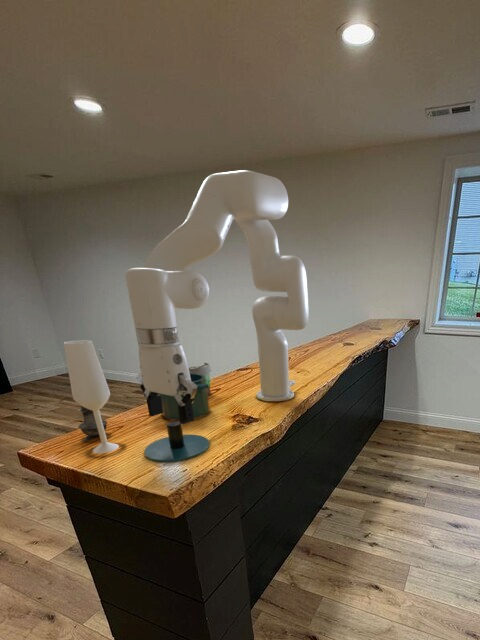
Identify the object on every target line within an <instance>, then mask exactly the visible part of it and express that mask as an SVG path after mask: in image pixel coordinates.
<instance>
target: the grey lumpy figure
mask: <svg viewBox="0 0 480 640" xmlns="http://www.w3.org/2000/svg"><path fill="white" fill-rule="evenodd" d="M80 408H81V409H80V410H79V412H81V413H82V416H83V423H80V424H79V425H78V429H80V431H81V432H82V433H83V434H84V435H85V437H84V438H83V441H84V442H89V441H91V440H94V439H98V438H100V436H99V432H98V428H97V424H96V421H95V417H94V413H93V411H92V410H89V409H87V408H85V407H83V406H81V405H80ZM102 423H103V426H104V430H105V431H106V430H107V427H108V425H107V424H108V421H107V420H105V419H102ZM105 434H106V435H108V433H107V432H105Z"/></svg>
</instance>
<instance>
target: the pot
mask: <svg viewBox="0 0 480 640" xmlns="http://www.w3.org/2000/svg"><path fill="white" fill-rule="evenodd" d="M190 377H191V381H192V382H193V383H195V384H196V385H197V391H196V397H195V399H194V402H193V403H192V408H193V415H194V419H196V418H200V417H202V416H203V417H204V416H205V415H207V414H209V412H210V405H209V395H208V396H207V388H208V384H206V380H205V376H203V375H201V374H194V373H190ZM177 391H179V390H177ZM159 395H160V396H161V400H162V406H163V413H161V414H162V416H163V417H164V418H165V419H168V420H174V421H180V420H179V414H178V406H179V403H178V402H177V400H176V399H175V397H174V396H170V395H165V394H160V393H159V394H158V396H159ZM180 396H181V397H182V399H183V398H184V395H183V394H182V395H180Z"/></svg>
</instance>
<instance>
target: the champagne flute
mask: <svg viewBox="0 0 480 640" xmlns="http://www.w3.org/2000/svg"><path fill="white" fill-rule="evenodd" d="M63 348H64V352H65V353H64V354H65V360H66V365H67V371H68V377H69V383H70V388H71V395H72V399H73V400H74V402H75V403H76V404H78V405H79V406H80V407H81V406H83V407H85V408H87V409H89V410H92V411H93V413H94V417H95V421H96V424H97V428H98V432H99V436H100V437H99V439H100V444H99V445H97V446H96V447H94V448H93V449H92V453H94V454H106V453H107V454H108V453H111V452H114V451H116V450H117V449H119V447H120V445H119V444H117V443H114V442H110V441H109V442H108V439H107V434H105V433H106V430H104V426H103V423H102V420H103V419H102V415H101V411H100V410H101V409H102V408H103V407H104V406H105V405H106V404H107V402H108V401H109V399H110V396H111V391H110V388H109V384H108V383H107V379H106V377H105V374H104V371H103V368H102V366H101V363H100V360H99V357H98V354H97V351H96V349H95V346H94V343H93V341H92V340H88V339H82V340H81V339H80V340H68V341H64V342H63Z"/></svg>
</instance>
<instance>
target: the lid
mask: <svg viewBox="0 0 480 640" xmlns="http://www.w3.org/2000/svg"><path fill="white" fill-rule="evenodd" d="M165 426H166V431H167V436H166V437H162V438H160V439H157V440H155V441H153V442H151V443H150V444H148V445H147V446H146V447H145V449H144V450H143V451H144V452H143V454H144V456H145V458H146V459H148V460H150V461H152V462H157V463H174V462H175V463H176V462H182V461H186V460H190V459H193V458H195V457H196V458H197V457H198V456H200V455H202V454H203V453H206V451H207V450H208V449H209V448H210V440H209V439H208V438H207V437H204V436H202V435H199V434H184V432H183V426H182V424H180V420H174V421H169V422H167V423H165Z"/></svg>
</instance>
